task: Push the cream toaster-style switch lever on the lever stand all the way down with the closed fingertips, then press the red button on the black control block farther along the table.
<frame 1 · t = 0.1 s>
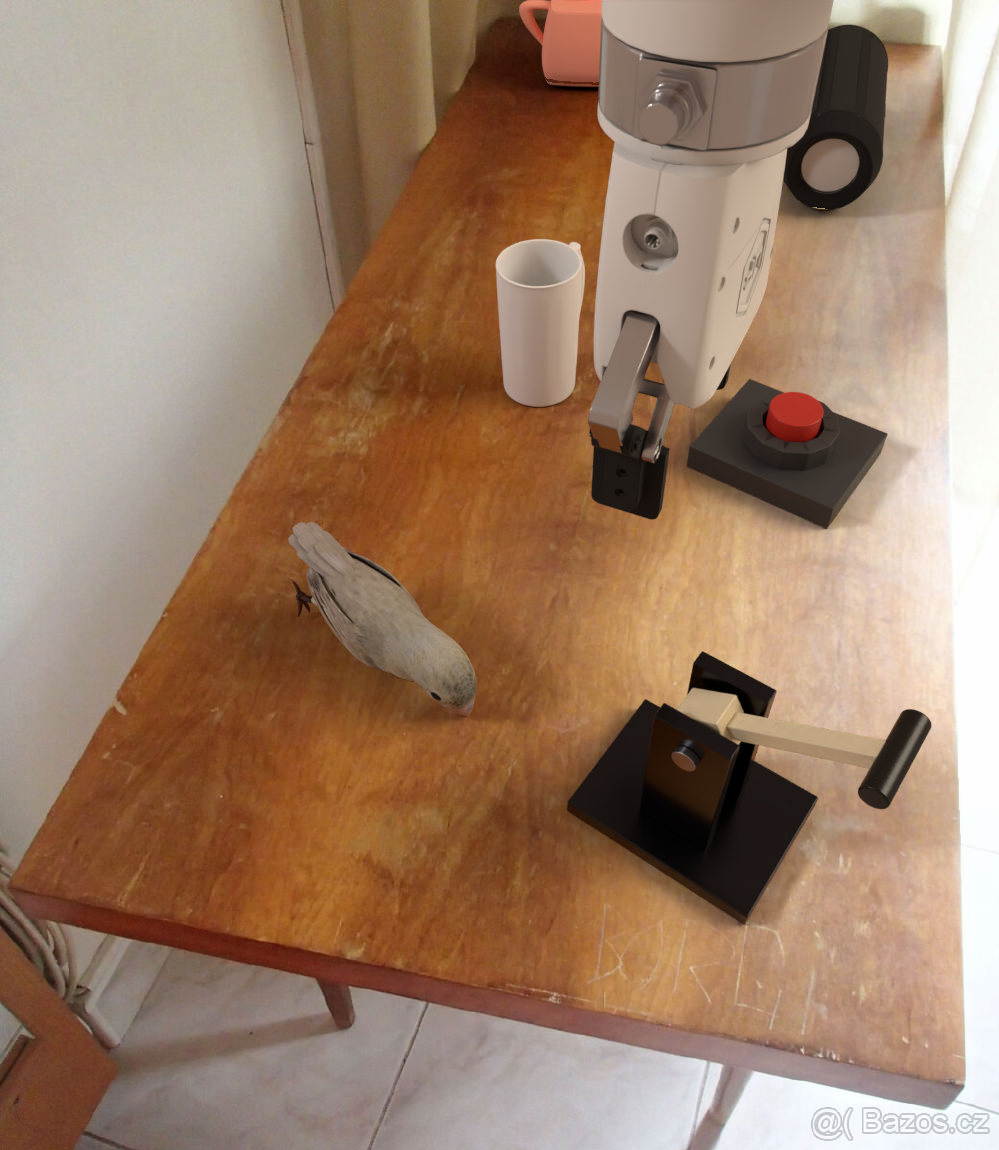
hand: (662, 440, 48), 23 cm above the table, tool pointing down, fingers open, 9 cm apart
mug: (549, 376, 87), on the table
portable speaker: (825, 160, 109), on the table
toaster lever: (790, 736, 49), point 12 cm above the table, hinge at 30.0°
control block: (783, 460, 79), on the table
decorative bird: (389, 655, 68), on the table
teapot: (590, 75, 125), on the table
lever stand: (690, 808, 60), on the table
red button: (794, 417, 75), point 4 cm above the table, slide at 0.1 cm
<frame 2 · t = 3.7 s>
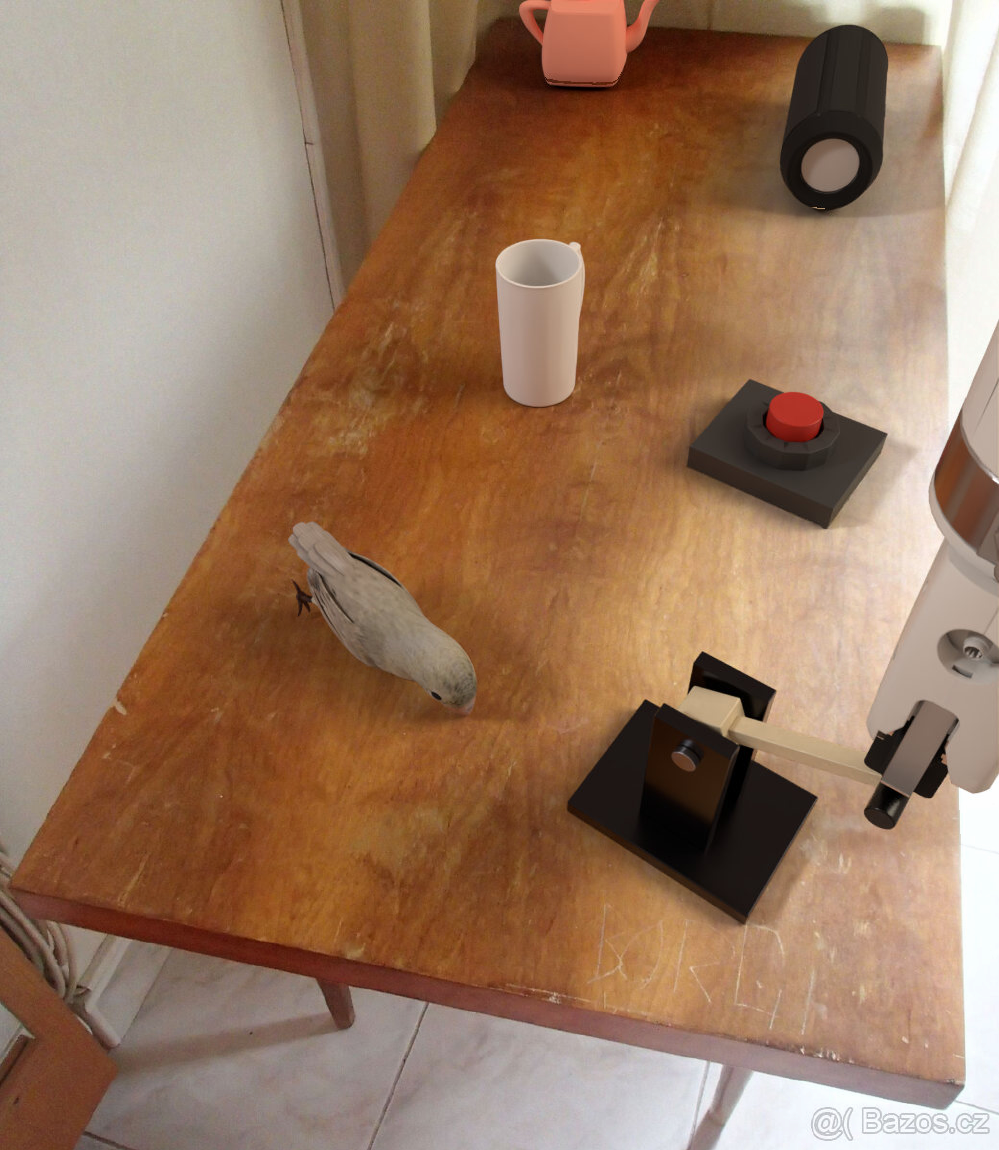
hand: (902, 769, 45), 14 cm above the table, tool pointing down, fingers closed
toaster lever: (793, 745, 49), point 12 cm above the table, hinge at 21.9°, touching gripper
everything else where it was.
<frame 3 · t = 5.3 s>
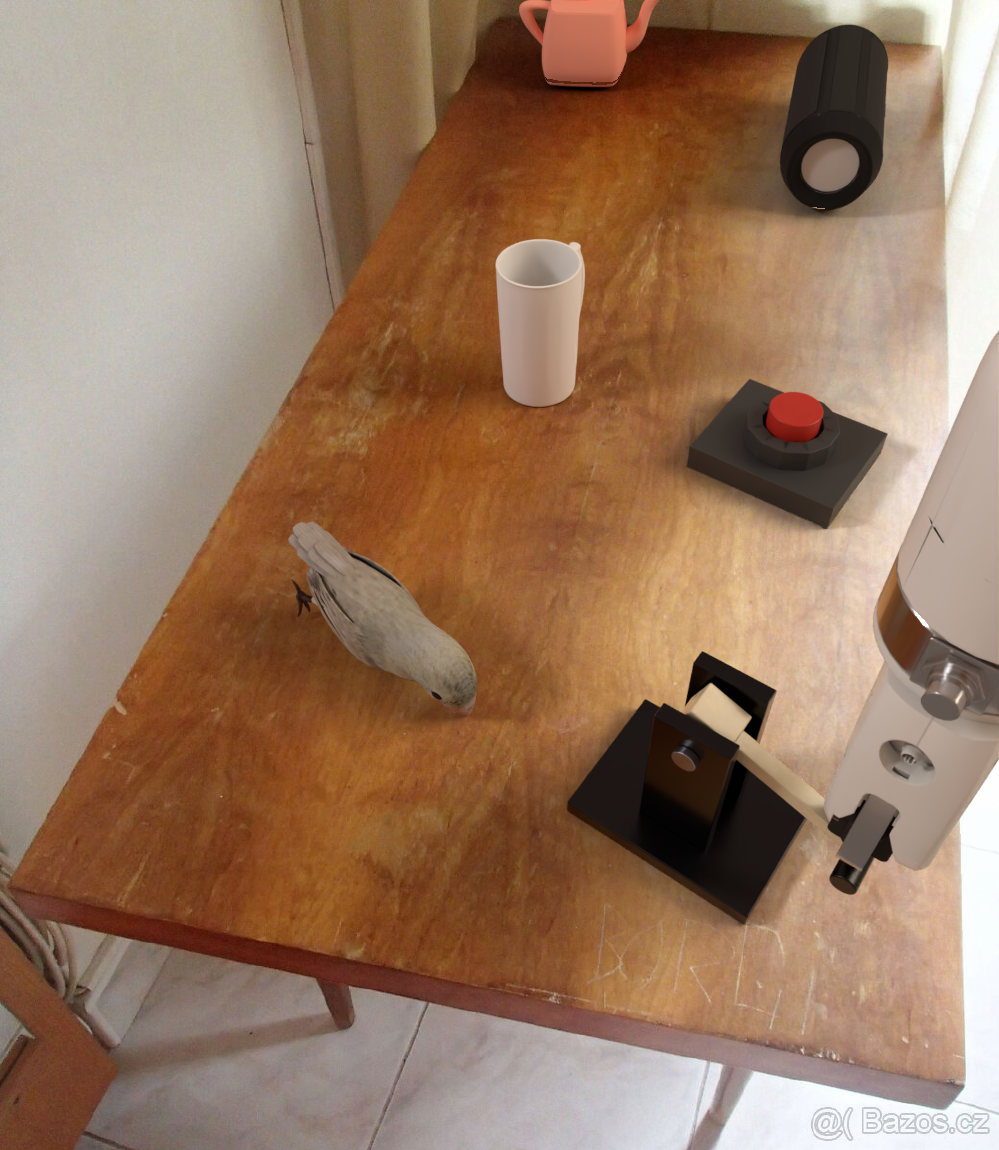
hand: (861, 834, 50), 8 cm above the table, tool pointing down, fingers closed
toaster lever: (781, 779, 52), point 8 cm above the table, hinge at -21.2°, touching gripper
everything else where it was.
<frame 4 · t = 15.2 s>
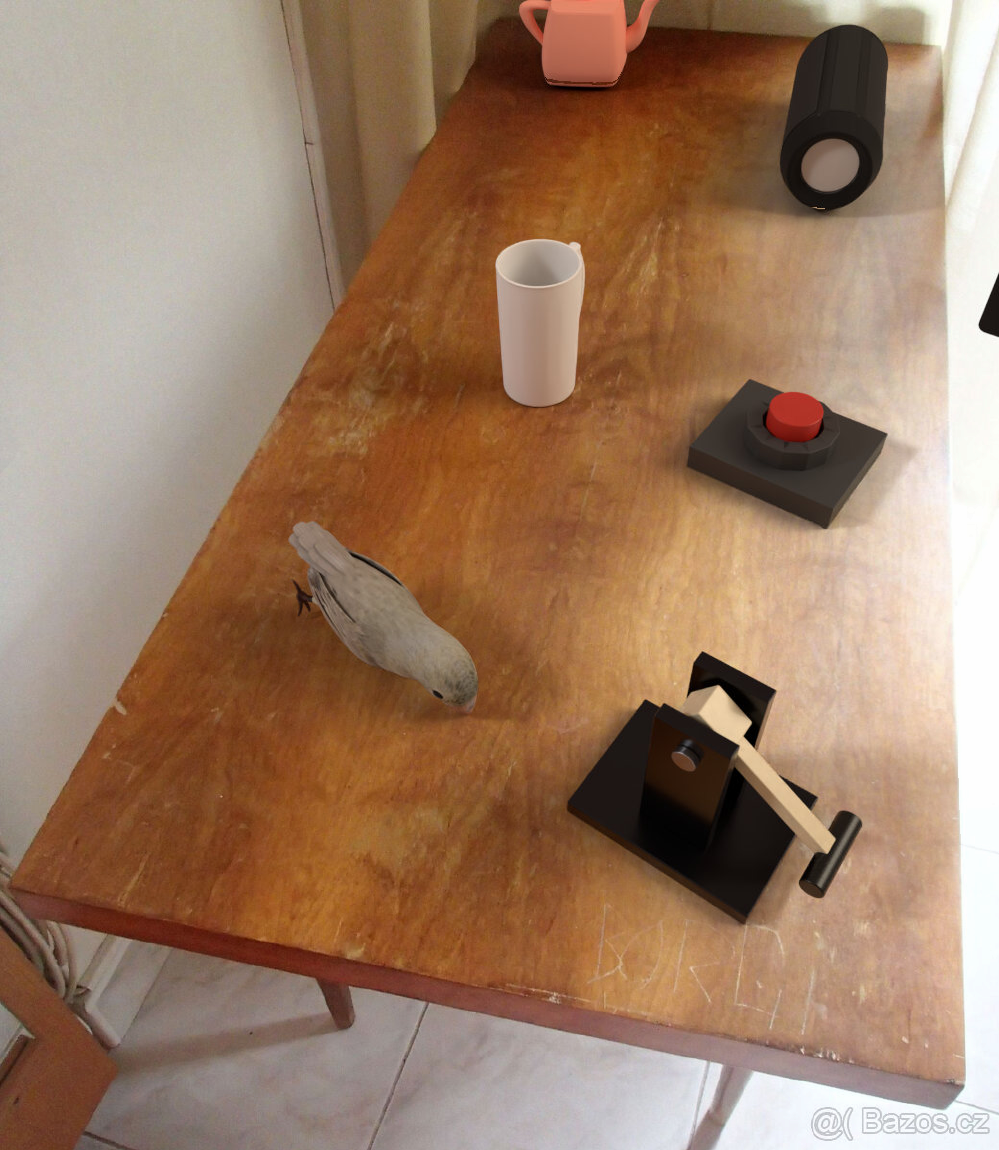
toaster lever: (767, 783, 53), point 7 cm above the table, hinge at -35.8°
everything else where it was.
at the end: toaster lever at -36° (first picture: +30°); red button pushed in 1.0 cm at the most during the clip, back to where it started at the end; red button slide at 0.1 cm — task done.
